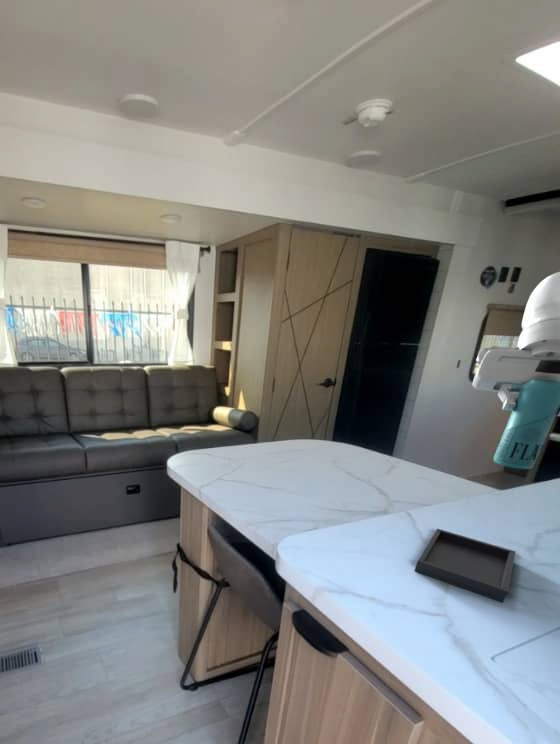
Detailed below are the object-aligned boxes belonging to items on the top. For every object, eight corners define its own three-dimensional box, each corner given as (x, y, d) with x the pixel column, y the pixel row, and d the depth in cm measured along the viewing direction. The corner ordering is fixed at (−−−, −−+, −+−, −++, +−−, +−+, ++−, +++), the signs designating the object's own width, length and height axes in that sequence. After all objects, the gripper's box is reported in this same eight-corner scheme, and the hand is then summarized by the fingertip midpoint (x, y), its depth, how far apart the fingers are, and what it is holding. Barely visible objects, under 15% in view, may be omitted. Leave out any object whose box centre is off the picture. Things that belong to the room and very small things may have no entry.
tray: (434, 537, 82) (437, 528, 81) (511, 561, 74) (515, 551, 74) (414, 571, 70) (417, 560, 69) (502, 602, 63) (508, 591, 62)
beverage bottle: (497, 474, 75) (544, 359, 66) (482, 463, 81) (523, 356, 72) (538, 478, 74) (591, 362, 65) (519, 467, 79) (566, 359, 71)
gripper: (485, 333, 77) (471, 393, 73) (630, 340, 68) (623, 408, 65) (474, 357, 82) (461, 413, 79) (607, 366, 74) (599, 430, 70)
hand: (535, 411), depth 72 cm, fingers closed on beverage bottle, 6 cm apart
